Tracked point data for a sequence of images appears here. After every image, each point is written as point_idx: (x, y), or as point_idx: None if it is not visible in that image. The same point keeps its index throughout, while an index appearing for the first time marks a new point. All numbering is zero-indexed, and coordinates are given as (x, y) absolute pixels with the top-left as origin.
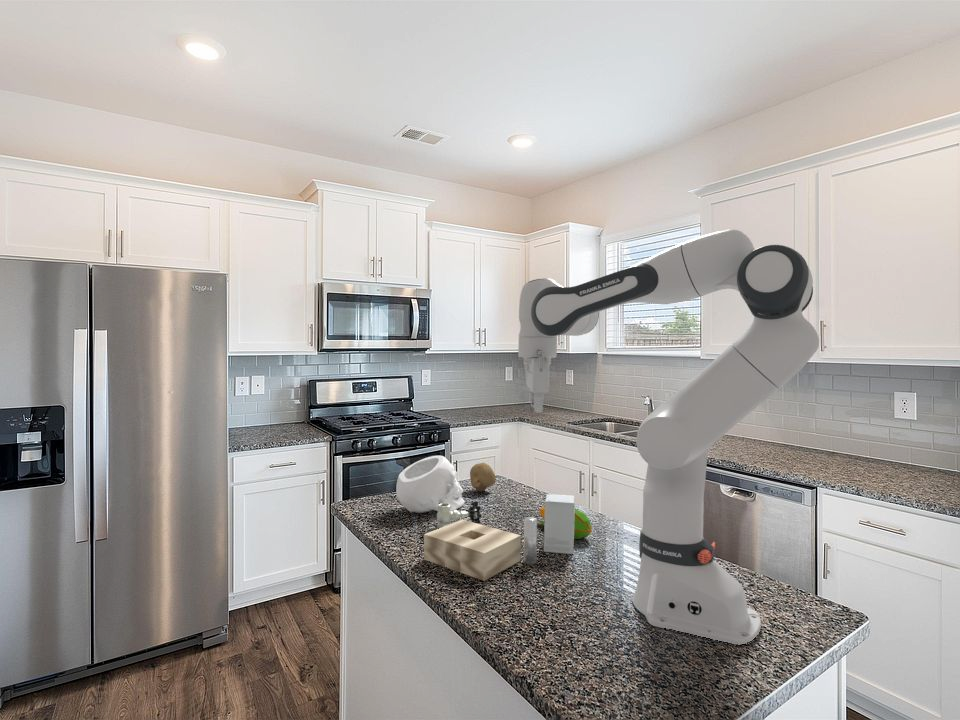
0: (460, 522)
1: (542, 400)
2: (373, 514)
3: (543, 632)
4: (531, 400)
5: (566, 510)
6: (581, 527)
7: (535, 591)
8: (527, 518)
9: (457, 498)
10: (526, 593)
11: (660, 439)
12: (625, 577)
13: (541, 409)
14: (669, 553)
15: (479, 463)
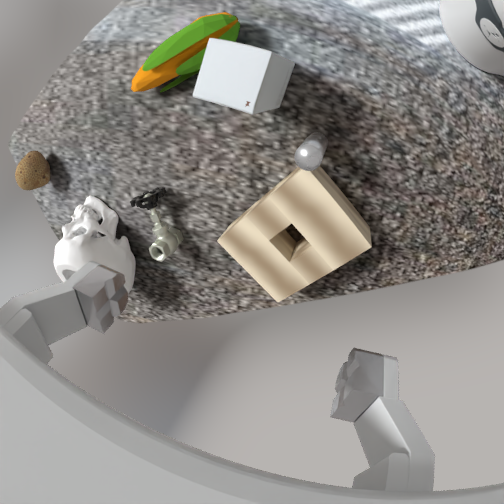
0: (231, 246)
1: (416, 433)
2: (141, 300)
3: (498, 206)
4: (103, 332)
5: (272, 69)
6: (236, 32)
7: (417, 172)
8: (301, 162)
9: (94, 210)
10: (419, 186)
11: None
12: (395, 23)
13: (394, 373)
14: None
15: (18, 182)
